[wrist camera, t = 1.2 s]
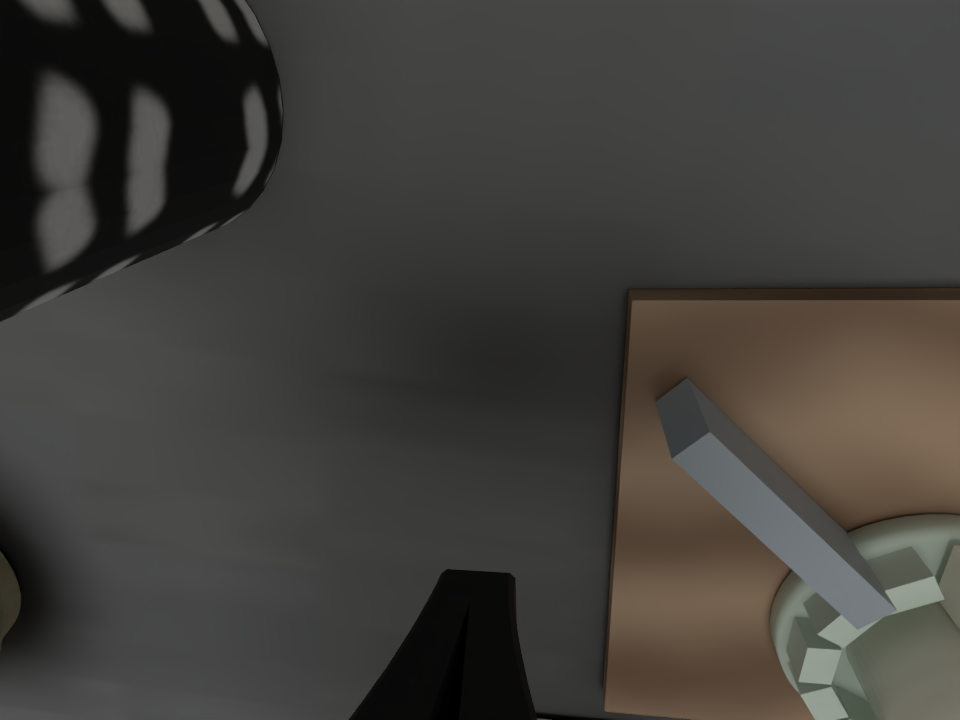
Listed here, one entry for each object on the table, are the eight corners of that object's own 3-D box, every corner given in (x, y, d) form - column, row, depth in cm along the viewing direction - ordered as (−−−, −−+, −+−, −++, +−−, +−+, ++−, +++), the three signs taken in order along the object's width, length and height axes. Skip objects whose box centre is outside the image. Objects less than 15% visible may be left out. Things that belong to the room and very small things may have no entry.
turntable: (1010, 715, 22) (1074, 805, 19) (629, 683, 23) (638, 761, 21) (1183, 385, 16) (1310, 448, 13) (657, 377, 18) (674, 430, 15)
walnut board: (1132, 734, 23) (1156, 761, 22) (603, 689, 25) (604, 711, 24) (1433, 286, 15) (1488, 299, 14) (628, 289, 18) (631, 300, 17)
